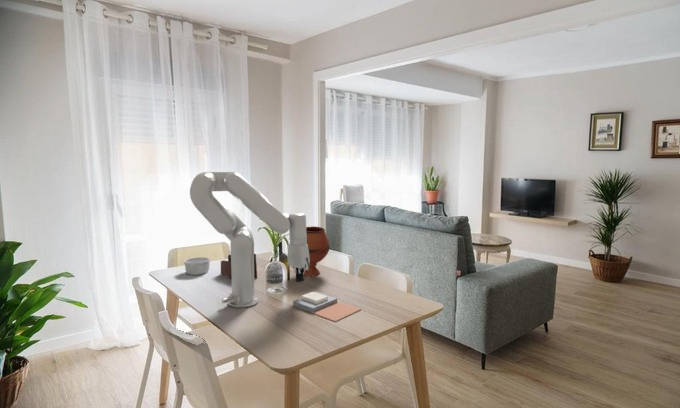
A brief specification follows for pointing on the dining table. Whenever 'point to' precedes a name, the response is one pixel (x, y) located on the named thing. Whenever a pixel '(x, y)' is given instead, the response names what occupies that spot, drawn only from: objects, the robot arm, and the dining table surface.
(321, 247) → the goblet
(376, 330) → the dining table surface
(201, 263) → the ramekin
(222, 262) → the letter holder
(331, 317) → the mat
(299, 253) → the robot arm
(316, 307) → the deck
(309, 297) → the ceramic tile
